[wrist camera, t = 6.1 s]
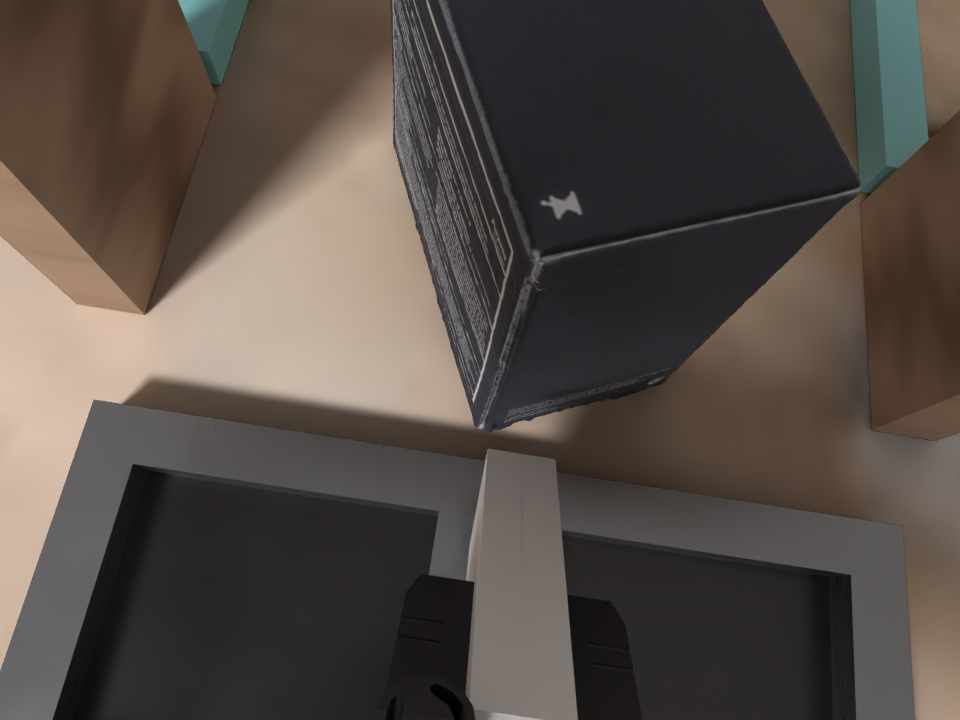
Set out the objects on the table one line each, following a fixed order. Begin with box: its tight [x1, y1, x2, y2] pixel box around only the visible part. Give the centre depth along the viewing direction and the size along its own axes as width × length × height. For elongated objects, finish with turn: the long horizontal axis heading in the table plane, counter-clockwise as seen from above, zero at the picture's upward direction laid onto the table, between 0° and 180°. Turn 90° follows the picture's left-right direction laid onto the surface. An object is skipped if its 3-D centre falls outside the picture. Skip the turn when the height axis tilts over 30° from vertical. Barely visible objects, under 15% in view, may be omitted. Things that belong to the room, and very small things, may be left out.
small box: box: [391, 0, 862, 433], centre depth 18 cm, size 11×6×10 cm, turn 16°
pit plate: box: [0, 400, 915, 720], centre depth 18 cm, size 10×22×1 cm, turn 81°
